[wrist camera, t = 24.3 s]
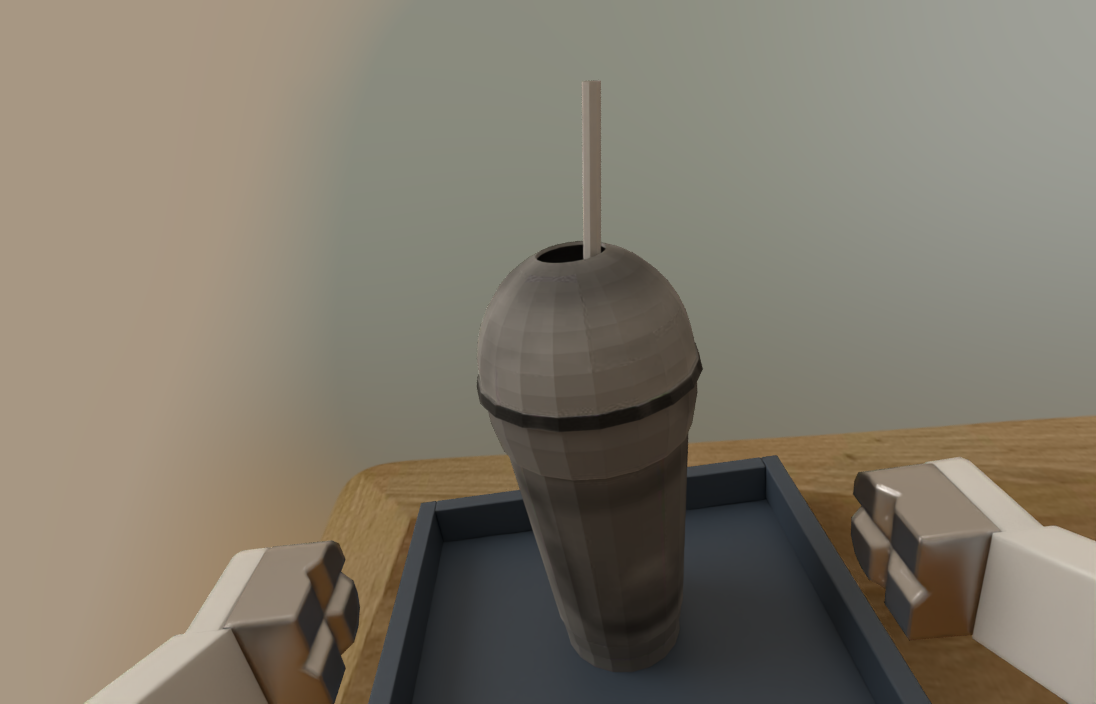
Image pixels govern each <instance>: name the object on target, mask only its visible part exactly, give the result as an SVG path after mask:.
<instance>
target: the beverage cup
mask: <svg viewBox="0 0 1096 704" xmlns="http://www.w3.org/2000/svg"><path fill="white" fill-rule="evenodd" d="M582 157H583V158H582V159H583V241H575V242H567V243H562V244H557V245H554V246H551V247H548V248H546V249H543V250H541V251H539V252H537V253H536V254H534V255H532V256H530V257H528V258H527V259H526V260H524V261H523V262H522V263H520V264H519V265H518V266H517V267H516V268H515V269H513V270H512V271H511V272H510V273H509V274H508V275H507V277H506V278H505V279H504V280H503V281H502V283H501V284H500V285H499V287H498V289H497V291H496V292H495V294H494V297H493V298H492V300H491V302H490V303H489V305H488V307H487V309H486V312H485V314H484V317H483V320H482V323H481V325H480V331H479V336H478V342H477V362H478V370H479V374H478V377H477V390H478V395H479V400H480V404H481V405H482V406H483V407H484V408H486V409H487V410H488V413H489V417H490V421H491V424H492V426H493V429H494V431H495V433H496V435H497V437H498V439H499V441H500V444H501V446H502V448H503V450H504V452H505V453H506V454H507V455H508V456H509V457H510V460H511V463H512V466H513V469H514V473H515V476H516V479H517V482H518V485H519V488H520V491H521V495H522V498H523V501H524V504H525V507H526V510H527V513H528V516H529V520H530V523H531V526H532V529H533V532H534V535H535V538H536V542H537V545H538V548H539V551H540V554H541V557H542V560H543V564H544V567H545V570H546V573H547V576H548V579H549V582H550V585H551V589H552V592H553V595H554V598H555V601H556V604H557V607H558V611H559V614H560V617H561V619H562V620H563V621H564V624H565V627H566V629H567V632H568V635H569V638H570V642H571V645H572V646H573V648H574V649H575V650H576V652H577V653H578V654H579V656H580V657H581V658H582V659H584V660H585V661H587V662H588V663H590V664H591V665H593V666H594V667H597V668H600V669H604V670H607V671H611V672H634V671H638V670H641V669H645V668H648V667H651V666H652V665H654V664H655V663H657V662H658V661H660V660H661V659H663V658H664V657H666V655H667V654H668V653H669V651H670V650H671V649H672V648H673V646H674V645H675V644H676V640H677V637H678V634H679V630H680V625H679V618H680V611H681V604H682V601H683V577H684V547H685V517H686V487H687V457H688V431H689V429H690V427H691V424H692V421H693V415H694V409H695V403H696V397H697V380H698V378H699V376H700V374H701V372H702V370H703V368H702V364H701V360H700V355H699V352H698V349H697V346H696V343H695V342H694V337H693V333H692V329H691V325H690V322H689V318H688V315H687V312H686V309H685V308H684V305H683V303H682V301H681V299H680V297H679V295H678V294H677V292H676V291H675V289H674V288H673V287H672V285H671V284H670V283H669V281H668V280H667V279H666V278H665V277H664V276H663V275H662V274H661V273H660V272H659V271H658V270H657V269H656V268H654V267H653V266H652V265H650V264H649V263H648V262H646V261H645V260H643V259H642V258H640V257H639V256H637V255H636V254H634V253H633V252H630V251H628V250H626V249H623V248H621V247H618V246H615V245H611V244H607V243H602V242H601V81H594V80H593V81H582Z"/></svg>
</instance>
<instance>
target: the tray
mask: <svg viewBox="0 0 1096 704" xmlns="http://www.w3.org/2000/svg"><path fill="white" fill-rule="evenodd" d="M679 625H680V630H679V634H678V637H677V640H676V644H675V645H674V646H673V648H672V649H671V650H670V651H669V653H668V654H667V655H666V657H664V658H663V659H661V660H660V661H658V662H657V663H655V664H654V665H652V666H651V667H648V668H645V669H641V670H638V671H634V672H611V671H607V670H604V669H600V668H597V667H594V666H593V665H591V664H590V663H588V662H587V661H585V660H584V659H582V658H581V657H580V656H579V654H578V653H577V652H576V650H575V649H574V648H573V646H572V645H571V642H570V638H569V635H568V632H567V629H566V627H565V624H564V621H563V620H562V619H561V617H560V614H559V611H558V607H557V604H556V601H555V598H554V595H553V592H552V589H551V585H550V582H549V579H548V576H547V573H546V570H545V567H544V564H543V560H542V557H541V554H540V551H539V548H538V545H537V542H536V538H535V535H534V532H533V529H532V526H531V523H530V520H529V516H528V513H527V510H526V507H525V504H524V501H523V498H522V495H521V491H520V490H516V491H508V492H501V493H494V494H486V495H479V496H472V497H464V498H457V499H449V500H442V501H437V502H436V501H433V502H426V503H421V506H420V510H419V514H418V517H417V521H416V525H415V529H414V532H413V536H412V540H411V544H410V548H409V551H408V555H407V559H406V563H405V567H404V570H403V574H402V578H401V582H400V585H399V589H398V593H397V597H396V601H395V604H394V608H393V612H392V616H391V620H390V623H389V627H388V631H387V635H386V638H385V642H384V646H383V650H382V654H381V657H380V661H379V665H378V669H377V673H376V676H375V680H374V684H373V688H372V691H371V695H370V699H369V703H368V704H932V703H931V702H930V700H929V699H928V697H927V695H926V694H925V692H924V691H923V689H922V687H921V686H920V684H919V683H918V681H917V679H916V678H915V676H914V675H913V673H912V671H911V670H910V668H909V667H908V665H907V663H906V662H905V660H904V659H903V657H902V655H901V654H900V652H899V650H898V649H897V647H896V646H895V644H894V642H893V641H892V639H891V638H890V636H889V634H888V633H887V631H886V630H885V628H884V626H883V625H882V623H881V622H880V620H879V618H878V617H877V615H876V614H875V612H874V610H873V609H872V607H871V606H870V604H869V602H868V601H867V599H866V598H865V596H864V594H863V593H862V591H861V590H860V588H859V586H858V585H857V583H856V581H855V580H854V578H853V577H852V575H851V573H850V572H849V570H848V569H847V567H846V565H845V564H844V562H843V561H842V559H841V557H840V556H839V554H838V553H837V551H836V549H835V548H834V546H833V545H832V543H831V541H830V540H829V538H828V537H827V535H826V533H825V532H824V530H823V529H822V527H821V525H820V524H819V522H818V520H817V519H816V517H815V516H814V514H813V512H812V511H811V509H810V508H809V506H808V504H807V503H806V501H805V500H804V498H803V496H802V495H801V493H800V492H799V490H798V488H797V487H796V485H795V484H794V482H793V480H792V479H791V477H790V476H789V474H788V472H787V471H786V469H785V468H784V466H783V464H782V463H781V461H780V460H779V458H778V456H776V455H775V456H767V457H762V458H752V459H745V460H737V461H730V462H722V463H715V464H708V465H700V466H693V467H687V487H686V517H685V547H684V577H683V601H682V604H681V611H680V618H679Z"/></svg>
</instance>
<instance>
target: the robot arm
mask: <svg viewBox="0 0 1096 704" xmlns="http://www.w3.org/2000/svg"><path fill="white" fill-rule="evenodd" d="M853 495H854V496H855V497H856V499H857V500H858V501H859V503H860V504H861V505H862V506H861V507H860V508H859V509H858V510H857V512H856V513H855V514H854V515H853V516H852V517H851V538H852V542H853V547H854V551H855V554H856V557H857V559H858V561H859V564H860V566H861V568H862V569H863V571H864V572H865V574H866V576H867V577H868V579H869V580H871V581H873V582H874V583H876V584H878V585H880V586H881V587H883V588H885V589H886V592H885V602H884V603H885V605H886V606H887V608H888V609H889V611H890V612H891V614H892V615H893V617H894V618H895V620H896V621H897V623H898V624H899V626H900V627H901V629H902V630H903V632H904V633H905V635H906V636H907V638H908V639H909V641H910V640H921V639H932V638H943V637H954V636H966V635H972V638H973V639H974V640H976V641H977V642H979V643H980V644H982V645H983V646H985V647H986V648H988V649H989V650H991V651H992V652H994V653H995V654H996V655H998V656H999V657H1001V658H1002V659H1004V660H1005V661H1007V662H1008V663H1010V664H1011V665H1013V666H1014V667H1016V668H1017V669H1019V670H1020V671H1022V672H1023V673H1025V674H1026V675H1027V676H1029V677H1030V678H1032V679H1033V680H1035V681H1036V682H1038V683H1039V684H1041V685H1042V686H1044V687H1045V688H1047V689H1048V690H1050V691H1051V692H1053V693H1054V694H1056V695H1057V696H1059V697H1060V698H1061V699H1063V700H1064V701H1066V702H1067V703H1069V704H1096V541H1094V540H1091V539H1089V538H1086V537H1083V536H1081V535H1078V534H1076V533H1073V532H1070V531H1068V530H1065V529H1063V528H1060V527H1057V526H1048V527H1043V526H1042V525H1041V524H1040V523H1039V522H1038V521H1037V520H1036V519H1034V518H1033V517H1032V516H1031V515H1030V514H1029V513H1028V512H1027V511H1025V510H1024V509H1023V508H1022V507H1021V506H1020V505H1019V504H1018V503H1016V502H1015V501H1014V500H1013V499H1012V498H1011V497H1010V496H1009V495H1007V494H1006V493H1005V492H1004V491H1003V490H1002V489H1001V488H1000V487H998V486H997V485H996V484H995V483H994V482H993V481H992V480H991V479H989V478H988V477H987V476H986V475H985V474H984V473H983V472H982V471H980V470H979V469H978V468H977V467H976V466H975V465H974V464H973V463H971V462H970V461H969V460H966V459H964V458H961V457H957V458H950V459H944V460H937V461H931V462H926V463H925V464H916V465H909V466H902V467H894V468H887V469H879V470H872V471H865V472H858V474H857V476H856V478H855V481H854V491H853ZM344 562H345V557H344V555H343V552H342V550H341V547H340V545H339V543H337V542H334V541H322V542H313V543H304V544H294V545H285V546H275V547H272V548H261V549H253V550H244V551H241V552H239V553H238V554H236V555H234V557H233V558H232V559H231V561H230V563H229V564H228V566H227V567H226V569H225V571H224V572H223V574H222V575H221V577H220V579H219V580H218V582H217V583H216V585H215V587H214V588H213V590H212V591H211V593H210V595H209V596H208V598H207V599H206V601H205V603H204V604H203V606H202V607H201V609H200V610H199V612H198V614H197V615H196V617H195V619H194V620H193V622H192V623H191V625H190V626H189V628H188V630H187V631H186V633H185V634H181V635H175V636H173V637H172V638H171V639H169V640H168V641H167V642H165V643H164V644H163V645H161V646H160V647H159V648H157V649H156V650H155V651H153V652H152V653H151V654H149V655H148V656H147V657H145V658H144V659H143V660H141V661H140V662H138V663H137V664H136V665H134V666H133V667H132V668H131V669H129V670H128V671H126V672H125V673H124V674H122V675H121V676H120V677H119V678H117V679H116V680H114V681H113V682H112V683H110V684H109V685H108V686H107V687H105V688H104V689H103V690H101V691H100V692H98V693H97V694H96V695H94V696H93V697H92V698H91V699H89V700H88V701H86V702H85V703H84V704H334V703H335V700H336V696H337V693H338V690H339V687H340V684H341V681H342V678H343V675H344V672H345V669H346V668H345V665H344V663H343V660H342V658H341V655H342V654H343V653H344V652H345V651H346V650H347V649H348V648H349V647H350V646H351V645H352V644H353V643H354V640H355V636H356V633H357V630H358V626H359V611H360V605H359V599H358V592H357V590H356V587H355V584H354V581H353V580H352V579H350V578H349V577H347V576H346V575H345V574H343V573H342V572H341V570H342V567H343V565H344Z"/></svg>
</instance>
